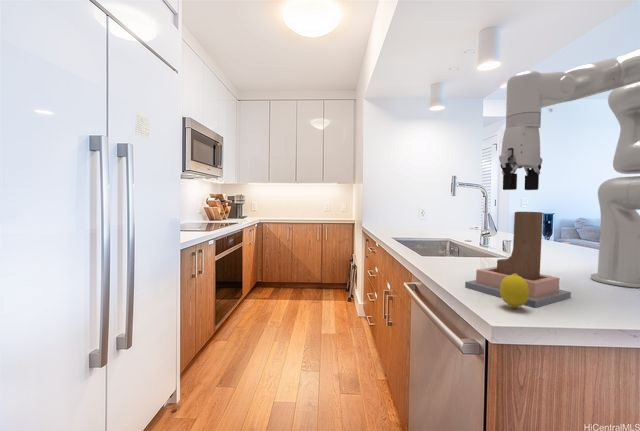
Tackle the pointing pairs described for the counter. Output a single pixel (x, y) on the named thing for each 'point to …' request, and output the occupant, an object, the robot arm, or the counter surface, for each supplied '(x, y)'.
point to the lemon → (514, 290)
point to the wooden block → (524, 247)
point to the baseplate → (530, 300)
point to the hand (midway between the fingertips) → (520, 189)
